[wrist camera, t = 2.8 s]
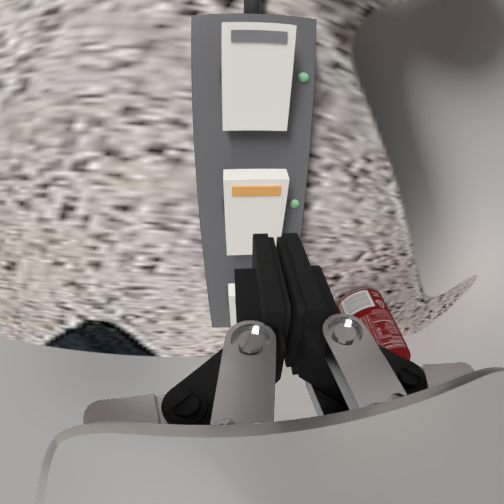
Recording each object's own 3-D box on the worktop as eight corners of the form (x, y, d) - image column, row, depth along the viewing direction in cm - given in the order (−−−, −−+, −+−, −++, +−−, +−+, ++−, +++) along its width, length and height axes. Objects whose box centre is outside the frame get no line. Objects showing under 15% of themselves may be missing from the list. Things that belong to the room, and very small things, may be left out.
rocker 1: (228, 283, 23) (228, 297, 22) (277, 281, 23) (279, 295, 22) (230, 321, 28) (231, 333, 27) (270, 320, 28) (271, 331, 27)
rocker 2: (222, 22, 12) (221, 22, 11) (292, 24, 12) (297, 25, 11) (223, 123, 17) (222, 131, 16) (283, 123, 17) (287, 131, 16)
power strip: (200, -34, 12) (193, -55, 8) (302, -31, 13) (317, -50, 9) (213, 300, 32) (212, 331, 28) (282, 297, 33) (288, 328, 29)
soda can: (329, 292, 33) (360, 378, 23) (380, 277, 32) (422, 355, 22) (333, 325, 37) (357, 402, 27) (377, 311, 36) (409, 382, 26)
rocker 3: (223, 169, 17) (223, 181, 16) (286, 168, 17) (289, 180, 17) (226, 243, 22) (226, 256, 22) (276, 242, 23) (278, 255, 22)
